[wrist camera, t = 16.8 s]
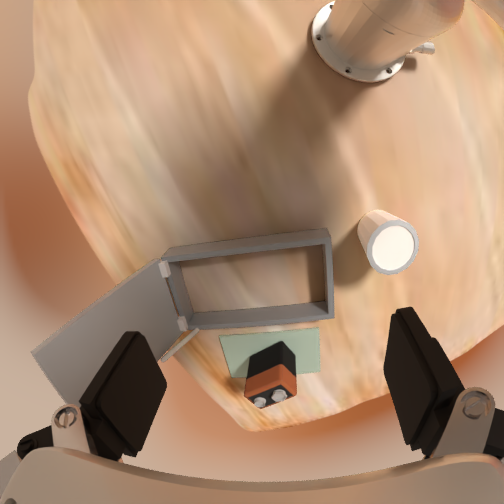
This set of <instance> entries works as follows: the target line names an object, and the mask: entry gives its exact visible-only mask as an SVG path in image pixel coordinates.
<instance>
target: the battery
mask: <svg viewBox="0 0 504 504" xmlns="http://www.w3.org/2000/svg"><path fill="white" fill-rule="evenodd" d="M296 394H297V384H296V356H295V354H294V353H293V352H292V351H291V350H290V349H289V347H288V346H287V345H286V344H285V343H284V342H283V341H280V342H278V343H276V344H274V345H272V346H270V347H268V348H266V349H264V350H262V351H260V352H258V353H256V354H254V355H252V356H250V358H249V365H248V371H247V378H246V385H245V391H244V396H245V397H246V398H247V399H248V400H249V401H251V402H252V403H253V404H254V405H255V406H256V407H258V408H260V409H262V408H265V407H268V406H271V405H273V404H276V403H278V402H281V401H284V400H286V399H289V398H291V397H294V396H295V395H296Z"/></svg>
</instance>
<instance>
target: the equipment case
mask: <svg viewBox="0 0 504 504" xmlns="http://www.w3.org/2000/svg"><path fill="white" fill-rule="evenodd" d="M320 244H322V250H323V264H324V281H325V301H320V302H312V303H303V304H294V305H284V306H274V307H264V308H253V309H241V310H227V311H213V312H197V313H194V312H193V308H192V305H191V302H190V299H189V295H188V292H187V289H186V285H185V282H184V278H183V275H182V272H181V268H180V264H179V261H184V260H192V259H201V258H209V257H218V256H226V255H235V254H244V253H252V252H261V251H269V250H278V249H286V248H295V247H303V246H312V245H320ZM161 260H162V261H160V262H161V263H159V264H158V265H159V268H160V272H161V275H162V278H165V277H167V279H168V283H169V286H170V289H171V292H172V295H173V298H174V301H175V304H176V307H177V310H178V313H179V316H180V317H178V318H179V319H178V320H177V323H178V325H179V328H180V331H187V330H193V331H192V332H191V333H190V334H188V335H187V336H186V337H185V338H184V339H183V340H182V341H180V342H179V343H178V344H177V345H176V346H175V347H173V348H172V349H171V350H170V351H169V352H168V353H166V354H165V355H164V356H163V357H162V358H161V361H162V362H165V361H166V360H168V359H169V358H170V357H171V356H172V355H173V354H174V353H176V352H177V351H178V350H179V349H180V348H181V347H182V346H183V345H185V344H186V343H187V342H188V341H189V340H190V339H191V338H193V337H194V336H195V335H196V334H197V333H198V332H199V330H201V329H222V328H239V327H253V326H266V325H277V324H288V323H297V322H307V321H315V320H324V319H332V318H334V283H333V261H332V244H331V236H330V234H329V232H328V230H327V228H323V229H315V230H306V231H298V232H289V233H281V234H273V235H265V236H257V237H249V238H241V239H233V240H225V241H217V242H210V243H202V244H195V245H187V246H180V247H172V248H169V249H168V250H167V251H166V253H165V254H164V255H163V256H162V257H161Z"/></svg>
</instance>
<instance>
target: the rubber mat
mask: <svg viewBox="0 0 504 504" xmlns="http://www.w3.org/2000/svg"><path fill="white" fill-rule="evenodd" d="M219 338H220V341H221V344H222V348H223V351H224V354H225V358H226V361H227V364H228V367H229V371H230V374H231V377H232V378H243V377H247V371H248V365H249V358H250V356H252V355H254V354H256V353H258V352H260V351H262V350H264V349H266V348H268V347H270V346H272V345H274V344H276V343H278V342H280V341H283V342H284V343H285V344H286V345H287V346H288V347H289V349H290V350H291V351H292V352H293V353H294V354H295V356H296V374H304V373H314V372H320V340H319V327H316V328H307V329H298V330H288V331H277V332H265V333H252V334H236V335H220V336H219Z"/></svg>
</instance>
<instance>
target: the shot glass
mask: <svg viewBox="0 0 504 504" xmlns="http://www.w3.org/2000/svg"><path fill="white" fill-rule="evenodd" d="M357 233H358V237H359V240H360V242H361V244H362V246H363V249H364V251H365V253H366V255H367V258H368V260H369V262H370V265H371V266H372V267H373V268H374V269H375V270H376V271H377V272H379V273H382V274H386V275H391V274H398V273H399V272H401V271H403V270H405V269H407V268H408V266H409V265H410V264H411V263H412V262H413V261H414V259H415V257H416V254H417V252H418V246H419V239H418V236H417V233H416V230H415V229H414V228H413V227H412V226H411V225H410V224H409V223H408V222H406V221H404V220H402V219H400V218H398V217H396V216H394V215H392V214H390V213H387V212H385V211H382V210H372V211H370V212H368V213H366V214H365V215H364V216H363V217H362V218H361V220H360V222H359V224H358V227H357Z"/></svg>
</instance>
